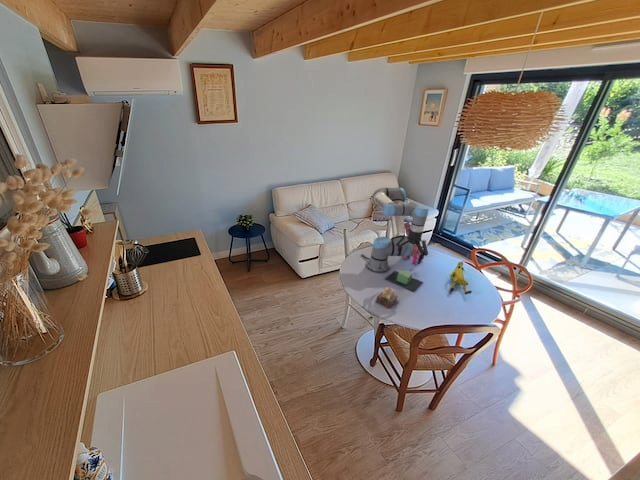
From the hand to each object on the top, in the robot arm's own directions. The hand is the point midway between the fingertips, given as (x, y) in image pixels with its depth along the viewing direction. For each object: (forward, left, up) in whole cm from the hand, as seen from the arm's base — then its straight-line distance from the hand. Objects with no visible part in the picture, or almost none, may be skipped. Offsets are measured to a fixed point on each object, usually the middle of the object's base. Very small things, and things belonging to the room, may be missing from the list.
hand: (408, 259), depth 188 cm
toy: (-10, +32, -18) cm, 38 cm away
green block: (0, 0, -17) cm, 17 cm away
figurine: (+28, +24, -18) cm, 41 cm away
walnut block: (+2, -29, -17) cm, 34 cm away
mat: (0, 0, -17) cm, 17 cm away
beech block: (+2, -29, -13) cm, 32 cm away
